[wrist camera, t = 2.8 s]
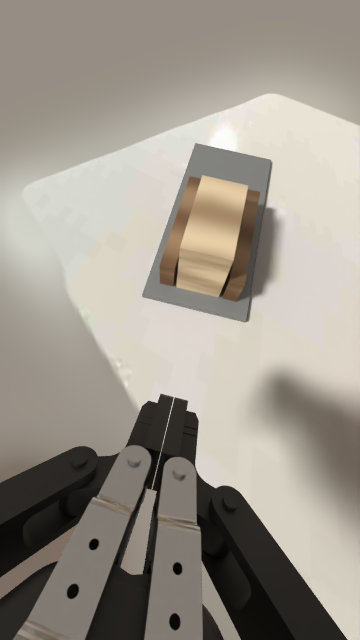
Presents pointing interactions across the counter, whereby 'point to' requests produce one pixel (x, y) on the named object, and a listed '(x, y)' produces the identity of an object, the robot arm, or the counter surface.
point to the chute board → (256, 177)
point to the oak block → (211, 236)
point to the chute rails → (243, 248)
